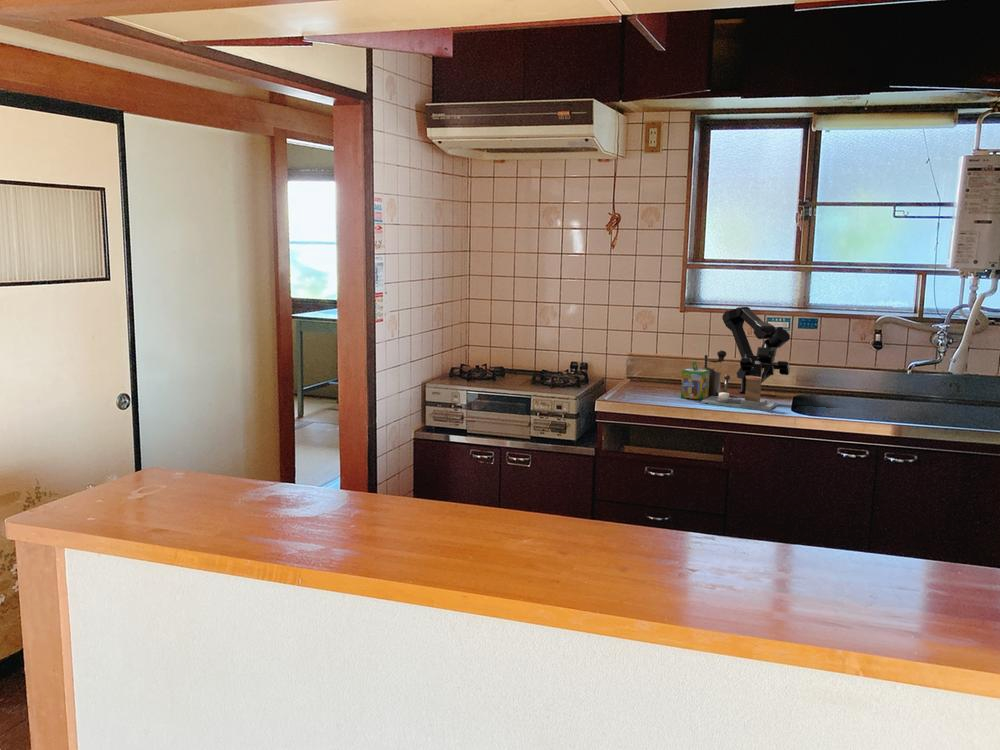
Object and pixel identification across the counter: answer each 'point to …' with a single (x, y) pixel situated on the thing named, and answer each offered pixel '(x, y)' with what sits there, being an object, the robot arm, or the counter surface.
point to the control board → (713, 400)
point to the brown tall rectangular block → (753, 388)
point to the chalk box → (695, 383)
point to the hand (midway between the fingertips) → (760, 382)
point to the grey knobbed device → (714, 374)
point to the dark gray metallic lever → (726, 383)
